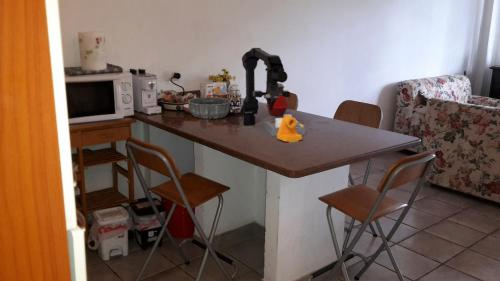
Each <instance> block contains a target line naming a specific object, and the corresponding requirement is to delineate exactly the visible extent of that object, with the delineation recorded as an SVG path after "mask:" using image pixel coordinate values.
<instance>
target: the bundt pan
mask: <svg viewBox="0 0 500 281" xmlns="http://www.w3.org/2000/svg"><path fill="white" fill-rule="evenodd" d="M231 102H232V100H230V99H229V98H225V97H224V98H223V97H216V96H215V97H213V96H212V97H210V96H209V97H195V98H191V99H188V101H187V103H188V107H189V108H188V109H189V113H190V114H191V115H192V116H193V117H195V118H198V119H204V120H206V119H209V120H212V119H222V118H224V117H226V116H228V114H229V112H230V108H231Z"/></svg>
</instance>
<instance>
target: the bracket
mask: <svg viewBox="0 0 500 281" xmlns="http://www.w3.org/2000/svg"><path fill="white" fill-rule="evenodd" d="M282 118H283V117H282ZM296 120H297V119H296V118H295V117H293V116H292V117H291V116H285V117H284V118H283V119H282V122H281V125H280V128H279V131H278V133H277V136H276V139H278V140H280V141H283V142H287V143H297V142H299V141H300V140H303V135H300V134H297V131H296V127H295V125H296Z"/></svg>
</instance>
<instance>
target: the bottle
mask: <svg viewBox="0 0 500 281" xmlns="http://www.w3.org/2000/svg"><path fill="white" fill-rule="evenodd" d="M278 87H283V88H284V89H285V86H284V84H283V83H281V82H278ZM270 97H271V96H270ZM266 107H267V110H268V112H269V115H270V116H271V117H277V118H282V117H283V114H285V113H286V110H287V109H288V107H289V105H288V102H287V100H286V97H284V96H279V99H277V100H276V102H275V104H274V106H273V109H272V110H270V108H269V105H268V102H267V104H266Z"/></svg>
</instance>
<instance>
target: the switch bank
mask: <svg viewBox="0 0 500 281" xmlns="http://www.w3.org/2000/svg"><path fill="white" fill-rule="evenodd" d="M263 123H264V124H263V128H264V130H265V131H267V133H268V134H270V136H272V137H273V136H274V137H275V136H276V137H277V133H278V131H279V128H280V127H275V120H264V122H263ZM295 127H296V131H297V134H300V135H302V136H306V127H305V126H304V125H303V124H301V123H300V122H299V121H298V120H297V119H296V125H295Z"/></svg>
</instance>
